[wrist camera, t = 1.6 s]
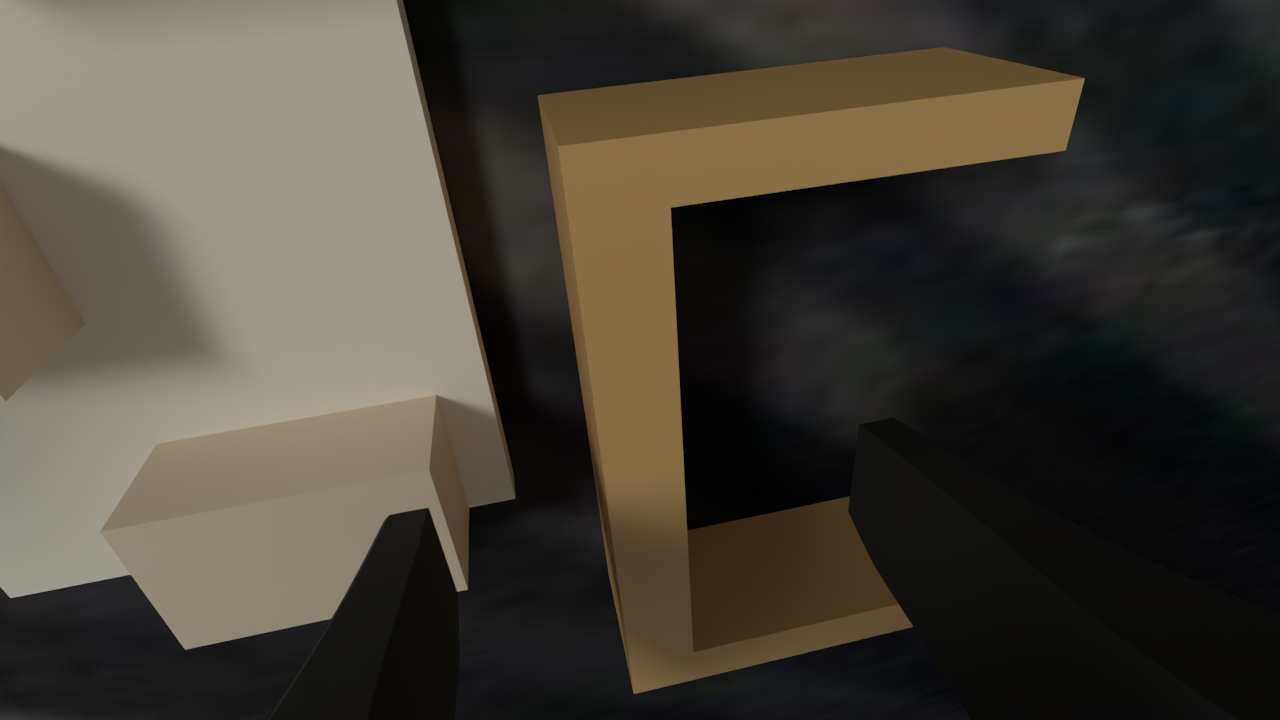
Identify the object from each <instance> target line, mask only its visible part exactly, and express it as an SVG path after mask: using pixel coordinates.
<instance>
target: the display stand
mask: <svg viewBox="0 0 1280 720" xmlns="http://www.w3.org/2000/svg"><path fill="white" fill-rule="evenodd" d="M511 499H516V498H515V483H514V473H513V469H512V464H511V460H510V456H509V451H508V447H507V443H506V439H505V434H504V430H503V426H502V422H501V417H500V413H499V409H498V405H497V400H496V396H495V392H494V387H493V383H492V379H491V375H490V370H489V366H488V362H487V358H486V353H485V349H484V345H483V341H482V336H481V332H480V328H479V324H478V319H477V315H476V311H475V306H474V302H473V298H472V294H471V289H470V285H469V281H468V277H467V272H466V268H465V264H464V260H463V255H462V251H461V247H460V242H459V238H458V234H457V230H456V225H455V221H454V217H453V213H452V208H451V204H450V200H449V196H448V191H447V187H446V183H445V179H444V174H443V170H442V166H441V161H440V157H439V153H438V149H437V144H436V140H435V136H434V132H433V127H432V123H431V119H430V115H429V110H428V106H427V102H426V97H425V93H424V89H423V85H422V80H421V76H420V72H419V68H418V63H417V59H416V55H415V51H414V46H413V42H412V38H411V34H410V29H409V25H408V21H407V16H406V12H405V8H404V4H403V0H0V587H1V588H2V589H3V590H4V591H5V593H6V594H7V595H8V596H9V597H10V598H14V597H19V596H24V595H29V594H34V593H39V592H44V591H49V590H54V589H59V588H65V587H70V586H75V585H80V584H85V583H90V582H95V581H100V580H105V579H110V578H115V577H120V576H125V575H132V577H133V578H134V580H135V581H136V582H137V584H138V585H139V586H140V588H141V589H142V591H143V592H144V593H145V595H146V596H147V598H148V599H149V600H150V602H151V603H152V604H153V606H154V607H155V609H156V610H157V611H158V613H159V614H160V615H161V617H162V618H163V620H164V621H165V622H166V624H167V625H168V627H169V628H170V629H171V631H172V632H173V633H174V635H175V636H176V638H177V639H178V640H179V642H180V643H181V644H182V646H183V647H184V649H185V650H186V649H190V648H195V647H200V646H205V645H209V644H214V643H219V642H223V641H228V640H233V639H238V638H242V637H247V636H252V635H256V634H261V633H266V632H270V631H275V630H280V629H285V628H289V627H294V626H299V625H303V624H308V623H313V622H317V621H322V620H327V619H332V617H333V615H334V613H335V612H336V610H337V608H338V606H339V605H340V603H341V601H342V599H343V598H344V596H345V594H346V592H347V591H348V589H349V587H350V585H351V583H352V581H353V580H354V578H355V576H356V574H357V572H358V570H359V568H360V567H361V565H362V563H363V561H364V559H365V557H366V555H367V553H368V551H369V549H370V547H371V545H372V543H373V541H374V539H375V538H376V536H377V534H378V532H379V530H380V528H381V526H382V524H383V522H384V520H385V519H386V518H387V517H388V516H389V515H392V514H397V513H402V512H407V511H413V510H418V509H423V508H428V507H429V510H430V513H431V516H432V519H433V522H434V525H435V528H436V531H437V534H438V537H439V540H440V543H441V545H442V548H443V551H444V554H445V557H446V560H447V563H448V566H449V569H450V572H451V575H452V578H453V581H454V584H455V587H456V590H457V592H458V591H463V590H468V551H469V508H471V507H476V506H481V505H486V504H491V503H496V502H501V501H506V500H511Z"/></svg>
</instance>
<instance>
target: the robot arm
mask: <svg viewBox="0 0 1280 720" xmlns="http://www.w3.org/2000/svg"><path fill="white" fill-rule="evenodd" d="M848 512H849V514H850V517H851V519H852V521H853V523H854V525H855V527H856V530H857V532H858V534H859V536H860V538H861V540H862V542H863V544H864V546H865V548H866V550H867V552H868V554H869V557H870V559H871V561H872V563H873V564H874V566H875V568H876V569H877V571H878V572H879V574H880V576H881V577H882V579H883V580H884V582H885V584H886V585H887V587H888V588H889V590H890V591H891V593H892V594H893V596H894V598H895V599H896V601H897V602H898V604H899V605H900V607H901V609H902V610H903V612H904V613H905V615H906V616H907V618H908V619H909V621H910V622H911V624H912V625H913V627H914V629H915V630H916V632H917V633H918V635H919V636H920V638H921V639H922V641H923V642H924V644H925V645H926V647H927V649H928V650H929V652H930V653H931V655H932V656H933V658H934V659H935V661H936V662H937V664H938V665H939V667H940V669H941V670H942V672H943V673H944V675H945V676H946V678H947V679H948V681H949V683H950V684H951V686H952V688H953V689H954V691H955V693H956V694H957V696H958V698H959V699H960V701H961V703H962V704H963V706H964V708H965V710H966V711H967V713H968V715H969V717H970V719H971V720H1280V613H1278V612H1276V611H1273V610H1270V609H1267V608H1265V607H1262V606H1259V605H1257V604H1254V603H1252V602H1249V601H1246V600H1244V599H1241V598H1239V597H1236V596H1234V595H1231V594H1229V593H1226V592H1224V591H1221V590H1219V589H1216V588H1214V587H1211V586H1208V585H1206V584H1203V583H1201V582H1198V581H1196V580H1194V579H1191V578H1189V577H1187V576H1184V575H1182V574H1180V573H1177V572H1175V571H1172V570H1170V569H1168V568H1166V567H1163V566H1161V565H1159V564H1157V563H1155V562H1152V561H1150V560H1148V559H1146V558H1144V557H1142V556H1139V555H1137V554H1135V553H1133V552H1131V551H1129V550H1126V549H1124V548H1122V547H1120V546H1118V545H1116V544H1113V543H1111V542H1109V541H1107V540H1105V539H1103V538H1101V537H1099V536H1097V535H1095V534H1093V533H1091V532H1089V531H1087V530H1085V529H1083V528H1082V527H1080V526H1078V525H1076V524H1074V523H1072V522H1070V521H1068V520H1066V519H1065V518H1063V517H1061V516H1059V515H1057V514H1055V513H1053V512H1051V511H1049V510H1048V509H1046V508H1044V507H1042V506H1040V505H1039V504H1037V503H1035V502H1033V501H1031V500H1030V499H1028V498H1026V497H1024V496H1022V495H1021V494H1019V493H1017V492H1016V491H1014V490H1012V489H1010V488H1009V487H1007V486H1005V485H1003V484H1002V483H1000V482H998V481H997V480H995V479H993V478H992V477H990V476H988V475H987V474H985V473H983V472H982V471H980V470H978V469H977V468H975V467H973V466H972V465H970V464H968V463H967V462H965V461H963V460H962V459H960V458H959V457H957V456H955V455H954V454H952V453H950V452H949V451H947V450H946V449H944V448H942V447H941V446H939V445H937V444H936V443H934V442H933V441H931V440H929V439H928V438H926V437H924V436H923V435H921V434H919V433H918V432H916V431H914V430H913V429H911V428H909V427H908V426H906V425H904V424H903V423H901V422H899V421H897V420H895V419H894V418H890V419H885V420H880V421H875V422H870V423H864V424H859V432H858V439H857V447H856V454H855V462H854V469H853V477H852V484H851V492H850V499H849V507H848ZM459 656H460V652H459V616H458V593H457V590H456V587H455V584H454V581H453V578H452V575H451V572H450V569H449V566H448V563H447V560H446V557H445V554H444V551H443V548H442V545H441V543H440V540H439V537H438V534H437V531H436V528H435V525H434V522H433V519H432V516H431V513H430V510H429V507H428V508H423V509H418V510H413V511H407V512H402V513H397V514H392V515H389V516H388V517H387V518H386V519H385V520H384V522H383V524H382V526H381V528H380V530H379V532H378V534H377V536H376V538H375V539H374V541H373V543H372V545H371V547H370V549H369V551H368V553H367V555H366V557H365V559H364V561H363V563H362V565H361V567H360V568H359V570H358V572H357V574H356V576H355V578H354V580H353V581H352V583H351V585H350V587H349V589H348V591H347V592H346V594H345V596H344V598H343V599H342V601H341V603H340V605H339V606H338V608H337V610H336V612H335V613H334V615H333V617H332V619H331V620H330V622H329V624H328V625H327V627H326V629H325V631H324V632H323V634H322V636H321V638H320V639H319V641H318V643H317V644H316V646H315V647H314V649H313V651H312V652H311V654H310V655H309V657H308V659H307V660H306V662H305V663H304V665H303V666H302V668H301V669H300V671H299V673H298V674H297V676H296V677H295V679H294V680H293V682H292V683H291V685H290V687H289V688H288V690H287V691H286V693H285V694H284V696H283V698H282V699H281V701H280V702H279V704H278V705H277V707H276V708H275V710H274V711H273V713H272V714H271V715H270V717H269V718H268V720H454V719H455V708H456V695H457V683H458V670H459Z"/></svg>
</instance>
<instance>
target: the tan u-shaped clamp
mask: <svg viewBox="0 0 1280 720" xmlns="http://www.w3.org/2000/svg"><path fill="white" fill-rule="evenodd" d="M1084 79H1085V78H1081V77H1077V76H1072V75H1068V74H1063V73H1059V72H1054V71H1049V70H1045V69H1040V68H1036V67H1031V66H1027V65H1022V64H1018V63H1013V62H1009V61H1004V60H1000V59H995V58H991V57H986V56H982V55H977V54H973V53H968V52H964V51H959V50H954V49H950V48H945V47H940V48H932V49H923V50H915V51H907V52H898V53H890V54H881V55H873V56H865V57H856V58H848V59H839V60H831V61H822V62H814V63H806V64H797V65H789V66H780V67H772V68H763V69H755V70H747V71H738V72H730V73H721V74H713V75H705V76H696V77H688V78H679V79H671V80H662V81H654V82H646V83H637V84H629V85H620V86H612V87H603V88H595V89H587V90H578V91H570V92H561V93H553V94H545V95H538V100H539V107H540V114H541V121H542V127H543V134H544V141H545V147H546V154H547V161H548V168H549V174H550V181H551V188H552V195H553V201H554V208H555V215H556V222H557V228H558V235H559V242H560V249H561V255H562V262H563V269H564V276H565V282H566V289H567V296H568V303H569V309H570V316H571V323H572V330H573V336H574V343H575V350H576V356H577V363H578V370H579V377H580V383H581V390H582V397H583V404H584V410H585V417H586V424H587V431H588V437H589V444H590V451H591V458H592V464H593V471H594V478H595V485H596V491H597V498H598V505H599V512H600V518H601V525H602V532H603V538H604V545H605V552H606V559H607V565H608V572H609V578H610V582H611V587H612V592H613V597H614V601H615V606H616V611H617V616H618V621H619V625H620V630H621V635H622V640H623V645H624V649H625V654H626V659H627V664H628V669H629V673H630V678H631V683H632V688H633V693H634V694H636V693H640V692H645V691H649V690H653V689H657V688H661V687H665V686H669V685H674V684H678V683H682V682H686V681H690V680H694V679H698V678H703V677H707V676H711V675H715V674H719V673H723V672H727V671H732V670H736V669H740V668H744V667H748V666H752V665H757V664H761V663H765V662H769V661H773V660H777V659H781V658H786V657H790V656H794V655H798V654H802V653H806V652H810V651H815V650H819V649H823V648H827V647H831V646H835V645H840V644H844V643H848V642H852V641H856V640H860V639H864V638H869V637H873V636H877V635H881V634H885V633H889V632H893V631H898V630H902V629H906V628H910V627H913V625H912V624H911V622H910V621H909V619H908V618H907V616H906V615H905V613H904V612H903V610H902V609H901V607H900V605H899V604H898V602H897V601H896V599H895V598H894V596H893V594H892V593H891V591H890V590H889V588H888V587H887V585H886V584H885V582H884V580H883V579H882V577H881V576H880V574H879V572H878V571H877V569H876V568H875V566H874V564H873V563H872V561H871V559H870V557H869V554H868V552H867V550H866V548H865V546H864V544H863V542H862V540H861V538H860V536H859V534H858V532H857V530H856V527H855V525H854V523H853V521H852V519H851V517H850V514H849V512H848V507H849V499H850V496H849V497H844V498H840V499H835V500H830V501H825V502H821V503H816V504H811V505H806V506H802V507H797V508H792V509H787V510H783V511H778V512H773V513H768V514H764V515H759V516H754V517H749V518H745V519H740V520H735V521H730V522H726V523H721V524H716V525H711V526H707V527H702V528H697V529H692V530H688V531H687V516H686V496H685V477H684V457H683V437H682V418H681V398H680V379H679V359H678V339H677V320H676V300H675V281H674V261H673V241H672V222H671V208H672V207H678V206H685V205H692V204H699V203H706V202H713V201H720V200H727V199H734V198H741V197H748V196H755V195H761V194H768V193H775V192H782V191H789V190H796V189H803V188H810V187H817V186H824V185H831V184H838V183H844V182H851V181H858V180H865V179H872V178H879V177H886V176H893V175H900V174H907V173H914V172H921V171H927V170H934V169H941V168H948V167H955V166H962V165H969V164H976V163H983V162H990V161H997V160H1003V159H1010V158H1017V157H1024V156H1031V155H1038V154H1045V153H1052V152H1059V151H1066V147H1067V143H1068V139H1069V136H1070V132H1071V128H1072V124H1073V121H1074V117H1075V113H1076V109H1077V106H1078V102H1079V98H1080V94H1081V91H1082V87H1083V83H1084Z"/></svg>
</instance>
